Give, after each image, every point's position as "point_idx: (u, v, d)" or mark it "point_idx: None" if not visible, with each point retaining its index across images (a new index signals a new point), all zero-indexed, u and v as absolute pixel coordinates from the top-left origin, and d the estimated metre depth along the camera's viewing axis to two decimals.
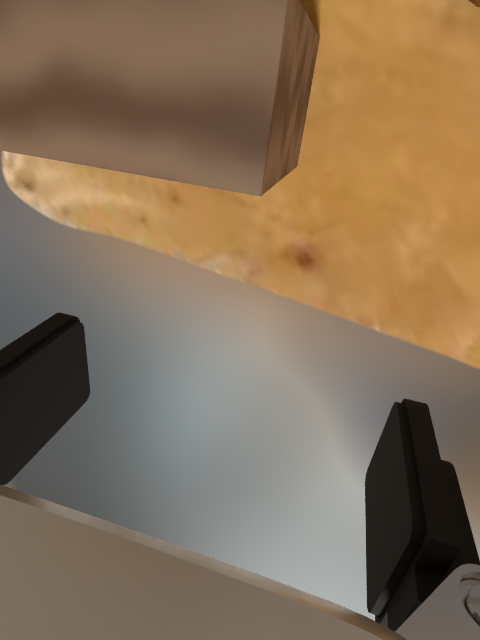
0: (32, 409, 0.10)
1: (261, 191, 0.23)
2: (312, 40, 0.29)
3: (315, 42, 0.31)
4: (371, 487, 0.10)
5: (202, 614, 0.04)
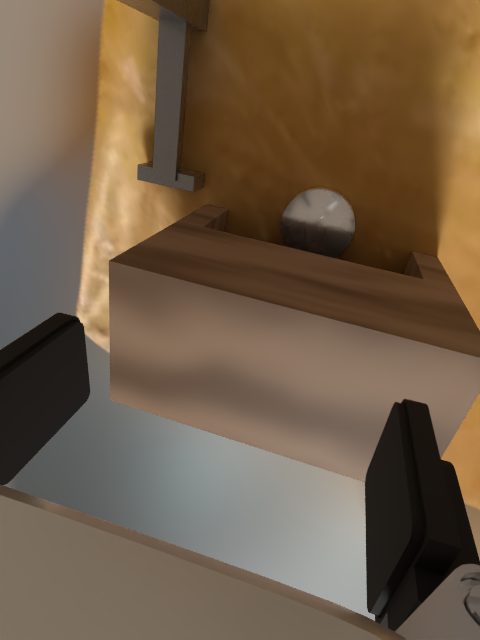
0: (32, 409, 0.10)
1: None
2: None
3: None
4: (371, 487, 0.10)
5: (202, 615, 0.04)
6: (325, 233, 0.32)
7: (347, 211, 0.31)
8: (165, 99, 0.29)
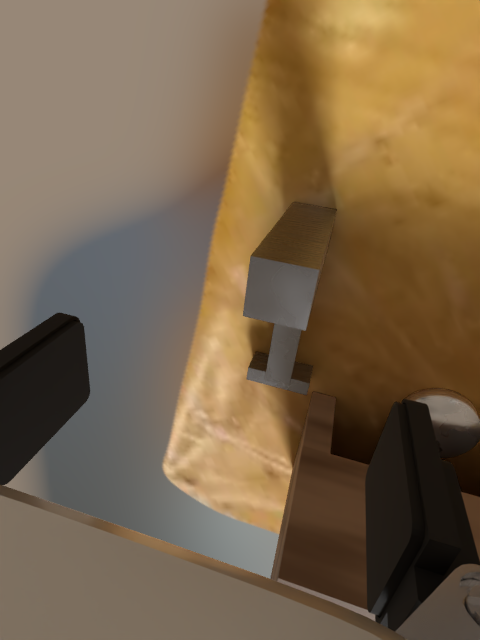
0: (32, 409, 0.10)
1: None
2: None
3: None
4: (371, 487, 0.10)
5: (202, 614, 0.04)
6: (447, 435, 0.31)
7: (474, 419, 0.30)
8: None
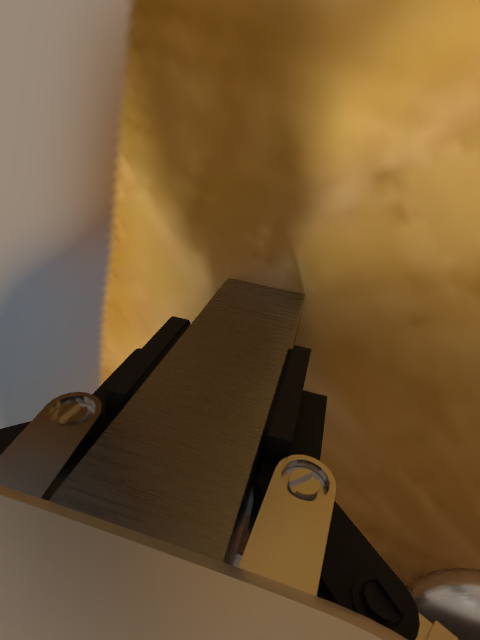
0: None
1: None
2: None
3: None
4: None
5: (201, 614, 0.04)
6: None
7: None
8: None
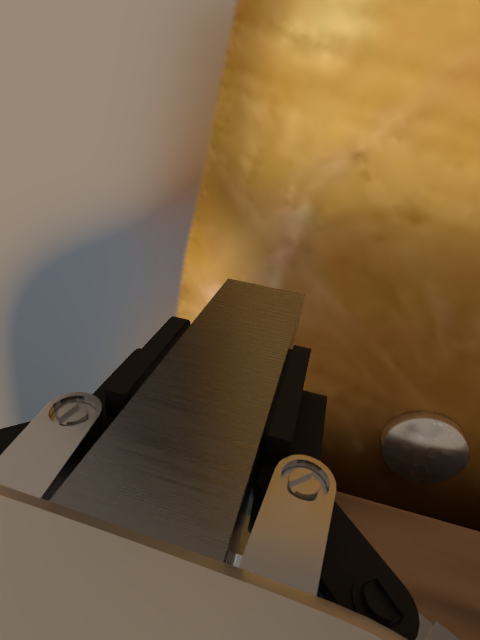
0: None
1: None
2: None
3: None
4: None
5: (202, 615, 0.04)
6: (434, 459, 0.29)
7: (462, 443, 0.28)
8: None
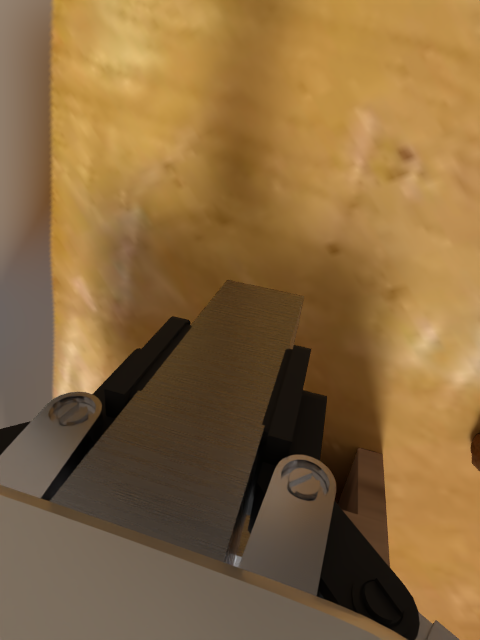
0: None
1: None
2: None
3: None
4: None
5: (201, 615, 0.04)
6: None
7: None
8: None
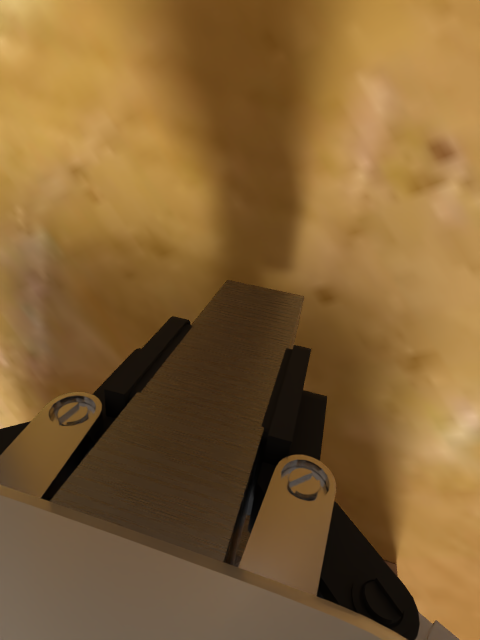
0: None
1: None
2: None
3: None
4: None
5: (201, 615, 0.04)
6: None
7: None
8: None
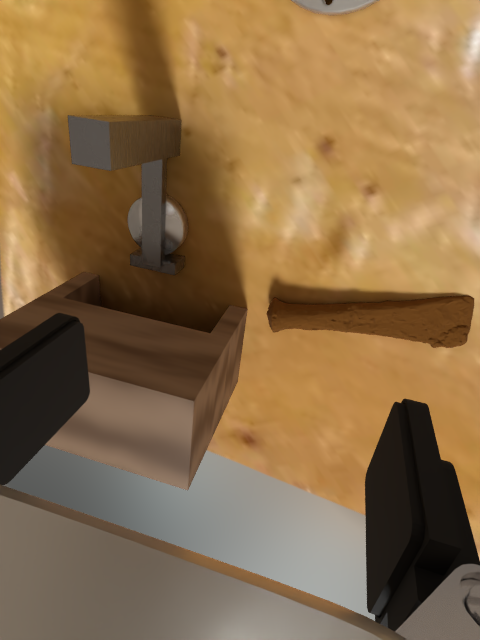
0: (32, 409, 0.10)
1: (188, 487, 0.34)
2: (235, 333, 0.39)
3: (241, 323, 0.41)
4: (371, 487, 0.10)
5: (202, 614, 0.04)
6: None
7: None
8: (149, 209, 0.37)
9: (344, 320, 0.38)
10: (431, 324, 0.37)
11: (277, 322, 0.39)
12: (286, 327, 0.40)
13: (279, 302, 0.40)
